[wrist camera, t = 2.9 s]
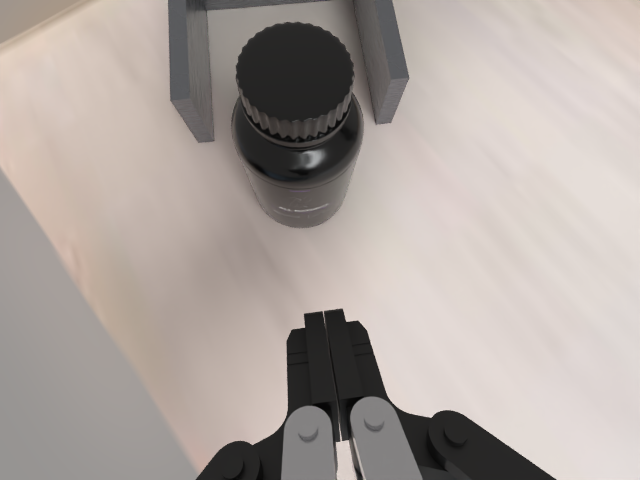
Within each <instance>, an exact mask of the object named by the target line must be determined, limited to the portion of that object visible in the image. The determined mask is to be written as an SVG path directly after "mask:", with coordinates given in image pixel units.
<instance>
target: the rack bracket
mask: <svg viewBox="0 0 640 480" xmlns="http://www.w3.org/2000/svg"><path fill="white" fill-rule="evenodd" d="M315 1H327V0H168V10H169V54H170V97H171V102H172V104H173V105H174V107H175V108H176V109H177V111H178V112H179V114H180V115H181V117H182V118H183V120H184V121H185V123H186V124H187V126H188V127H189V129H190V130H191V132H192V133H193V135H194V136H195V138H196V139H197V141H198V142H209V141H214V131H213V113H212V96H211V78H210V60H209V43H208V25H207V10H218V9H230V8H243V7H255V6H267V5H279V4H291V3H303V2H315ZM353 3H354V8H355V13H356V19H357V24H358V29H359V35H360V40H361V45H362V51H363V56H364V61H365V67H366V72H367V77H368V83H369V88H370V93H371V99H372V104H373V109H374V115H375V120H376V124H385V123H391V121H392V119H393V117H394V114H395V112H396V109H397V107H398V104H399V102H400V99H401V97H402V94H403V92H404V89H405V87H406V84H407V82H408V80H409V75H408V70H407V66H406V61H405V57H404V52H403V48H402V43H401V39H400V34H399V30H398V25H397V21H396V16H395V12H394V7H393V3H392V0H353Z"/></svg>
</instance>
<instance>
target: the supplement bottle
mask: <svg viewBox="0 0 640 480" xmlns="http://www.w3.org/2000/svg"><path fill="white" fill-rule="evenodd" d="M353 67H354V65H353V62H352V61H351V59H350V53H349V52H347V50H346V47H345V45H344V44H342V43H341V42H340V40H339V39H338V38H337V37H335V36H333V35H332V34H331V33H330V32H329V31H326V30H323V29H322V28H321V27H319V26H313V25H312V24H310V23H307V24H303V23H300V22H295V23H290V22H286V23H284V24H275V25H274V26H272V27H266V28H265V29H264V30H263V31H261V32H258V33H256V35H255V36H254V37H253V38H251V39H249V41H248V43H247V45H246V46H244V47H243V48H242V53H241V54H240V55H239V56H238V63H237V65H236V72H237V74H236V81H237V85H238V90H239V93H240V96H239V98H238V100H237V102H236V104H235V107H234V110H233V114H232V123H231V129H232V137H233V141H234V144H235V148H236V150H237V153H238V155H239V157H240V160H241V162H242V164H243V167H244V169H245V171H246V174H247V176H248V178H249V180H250V183H251V185H252V187H253V190H254V192H255V194H256V197H257V199H258V201H259V203H260V205H261V206H262V208H263V209H264V211H265V212H266V213H267V214H268V215H269V216H270V217H271V218H273V219H274V220H275V221H277V222H279V223H281V224H283V225H286V226H289V227H294V228H309V227H313V226H317V225H319V224H321V223H323V222H325V221H327V220H328V219H330V218H331V217H332V216H333V215H334V214H335V213H336V212H337V211H338V209H339V208H340V206H341V204H342V203H343V200H344V198H345V195H346V192H347V189H348V186H349V183H350V179H351V176H352V173H353V170H354V167H355V164H356V160H357V157H358V154H359V151H360V147H361V144H362V139H363V133H364V121H363V115H362V111H361V108H360V105H359V103H358V101H357V99H356V97H355V95H354V94H353V92H352V91H353V82H354V77H355V75H354V71H353Z"/></svg>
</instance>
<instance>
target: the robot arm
mask: <svg viewBox="0 0 640 480" xmlns="http://www.w3.org/2000/svg"><path fill="white" fill-rule="evenodd" d="M324 318H325V323H324ZM304 319H305V328H300V329H293V330H291V333H290V335H289V337H288V339H287V382H288V412H287V416H286V419H285V421H284V423H283V424H282V426H281V427H280V428H279V429H278V430H277V431H276V432H275V433H274V434H272V435H271V436H269V437H267V438H265V439H263V440H262V441H260V442H258V443H256V444H254V445H251V444H250V443H248V442H245V441H235V442H232V443H229V444H227V445H226V446H224V447H223V448H222V449H220V450H219V451H218V452H217V453H216V455H215V456H214V457H213V458H212V460H211V461H210V462H209V463H208V465H207V466H206V467H205V469H204V470H203V471H202V472H201V474H200V475H199V476H198V477H197V479H196V480H337V474H336V473H337V468H338V462H337V451H336V442H340V432H339V424H340V430H341V436H342V441H345V440H349V444H350V449H351V455H352V467H353V471H354V476H355V480H556V479H555V478H553V477H552V476H550V475H549V474H548V473H546V472H545V471H543V470H542V469H540V468H539V467H538V466H536V465H535V464H533V463H532V462H530V461H529V460H527V459H526V458H525V457H523V456H522V455H520V454H519V453H517V452H516V451H515V450H513V449H512V448H510V447H509V446H507V445H506V444H505V443H503V442H502V441H500V440H499V439H497V438H496V437H494V436H493V435H492V434H490V433H489V432H487V431H486V430H484V429H483V428H482V427H480V426H479V425H477V424H476V423H474V422H473V421H472V420H470V419H469V418H467V417H466V416H464V415H462V414H460V413H458V412H455V411H450V410H444V411H440V412H438V413H436V414H435V415H434V416H433V417H432V418H429V417H423V416H418V415H413V414H409V413H406V412H404V411H402V410H400V409H399V408H397V407H396V406H395V405H394V404H393V403H392V402H391V401H390V399H389V398H388V396H387V394H386V391H385V388H384V385H383V381H382V378H381V375H380V372H379V368H378V365H377V362H376V359H375V355H374V352H373V349H372V346H371V343H370V339H369V336H368V333H367V330H366V329H365V328H364V327H363V325H362V324H361V323H360V322H359V321H351V322H346V320H345V316H344V312H343V309H335V310H328V311H324V317H323V311H321V312H313V313H306V314H304ZM338 417H339V419H338Z"/></svg>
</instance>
